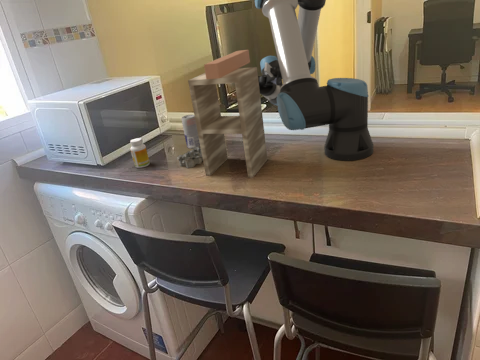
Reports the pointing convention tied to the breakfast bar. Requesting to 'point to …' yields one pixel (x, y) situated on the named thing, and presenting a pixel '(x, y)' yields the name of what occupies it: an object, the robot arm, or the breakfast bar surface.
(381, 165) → the breakfast bar surface
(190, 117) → the energy drink
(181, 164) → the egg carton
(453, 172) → the breakfast bar surface
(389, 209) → the breakfast bar surface
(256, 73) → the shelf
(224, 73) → the bar
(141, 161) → the supplement bottle
